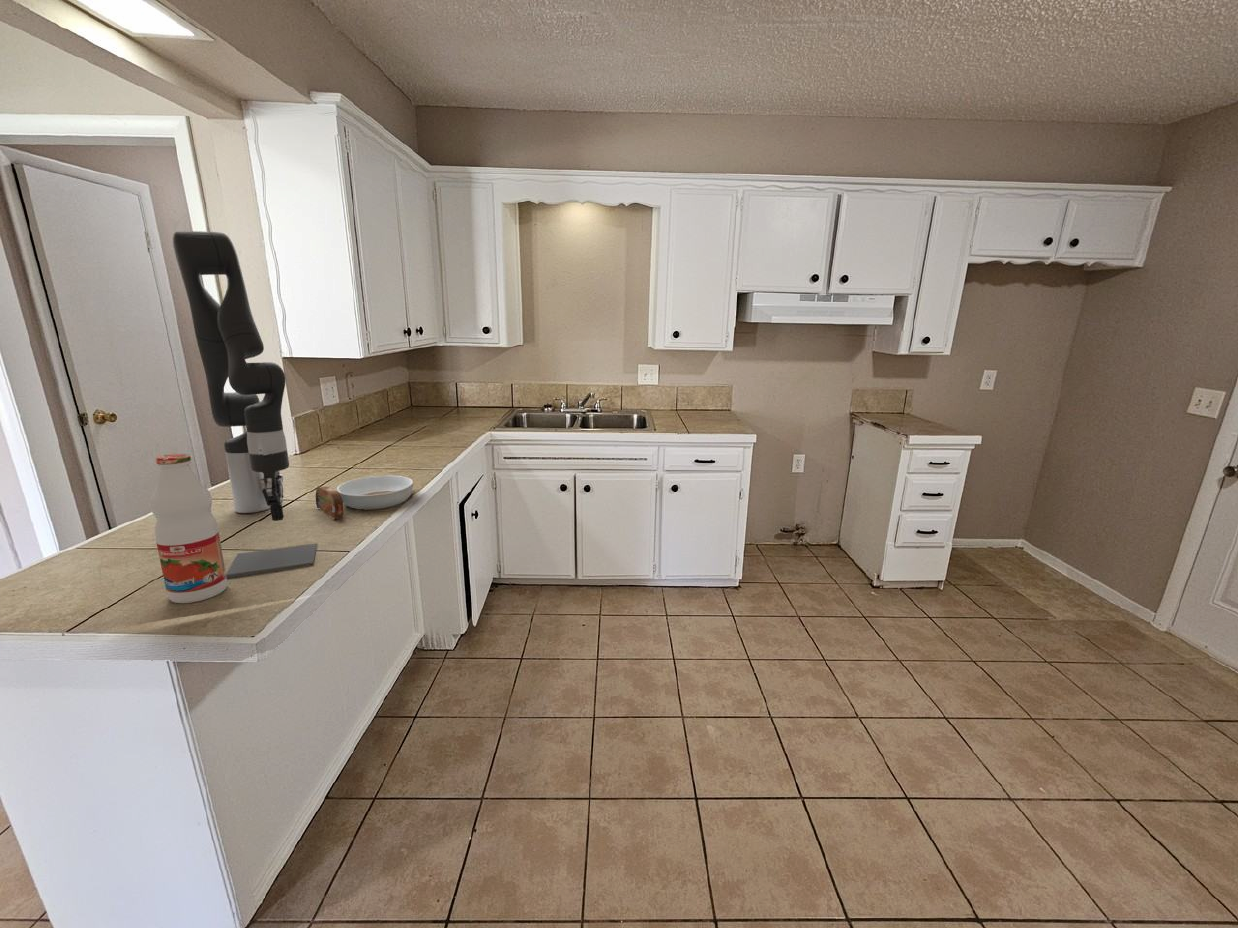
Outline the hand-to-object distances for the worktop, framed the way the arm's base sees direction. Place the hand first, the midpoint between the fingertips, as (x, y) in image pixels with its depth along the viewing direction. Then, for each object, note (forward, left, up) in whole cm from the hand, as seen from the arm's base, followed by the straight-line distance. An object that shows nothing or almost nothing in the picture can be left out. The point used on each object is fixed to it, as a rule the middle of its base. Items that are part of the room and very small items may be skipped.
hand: (278, 519), depth 126 cm
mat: (+10, 0, -7) cm, 12 cm away
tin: (-18, +10, -7) cm, 22 cm away
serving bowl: (-24, +22, -7) cm, 33 cm away
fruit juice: (+21, -12, -7) cm, 25 cm away
